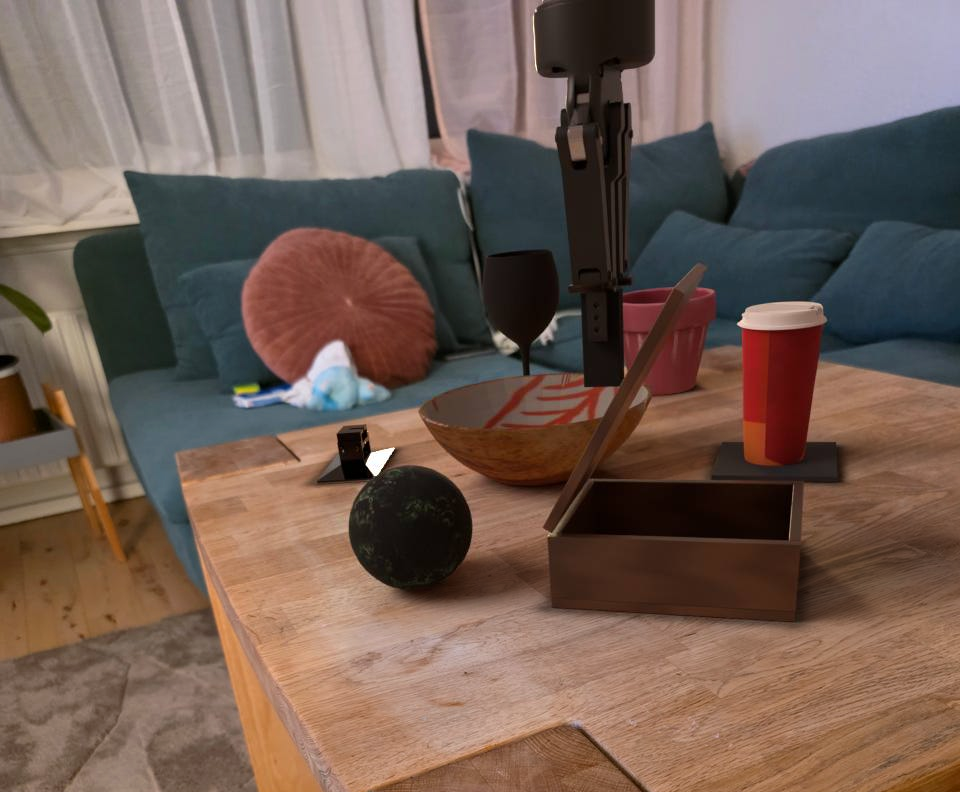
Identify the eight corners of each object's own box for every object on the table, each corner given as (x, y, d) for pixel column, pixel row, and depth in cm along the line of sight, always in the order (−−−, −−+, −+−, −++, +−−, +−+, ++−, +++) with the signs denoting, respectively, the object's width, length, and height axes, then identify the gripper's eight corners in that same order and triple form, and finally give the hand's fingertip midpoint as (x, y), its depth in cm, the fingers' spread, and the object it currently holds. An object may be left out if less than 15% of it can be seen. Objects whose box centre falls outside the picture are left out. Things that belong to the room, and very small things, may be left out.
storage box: (798, 548, 74) (804, 480, 71) (794, 622, 62) (800, 545, 60) (589, 541, 79) (587, 478, 77) (551, 607, 68) (547, 536, 65)
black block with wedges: (375, 481, 102) (369, 441, 100) (314, 485, 103) (306, 446, 100) (395, 449, 113) (389, 413, 110) (339, 453, 114) (332, 417, 111)
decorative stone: (355, 617, 70) (334, 495, 65) (361, 567, 79) (343, 457, 74) (482, 602, 70) (469, 480, 65) (474, 555, 79) (462, 444, 74)
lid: (708, 267, 66) (698, 262, 66) (684, 293, 55) (673, 287, 55) (591, 475, 76) (583, 470, 76) (551, 533, 65) (542, 528, 65)
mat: (835, 447, 97) (836, 441, 96) (837, 482, 87) (837, 476, 87) (722, 447, 101) (722, 441, 100) (711, 480, 91) (711, 475, 90)
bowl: (630, 512, 85) (629, 429, 81) (391, 506, 93) (379, 430, 89) (669, 438, 106) (669, 369, 102) (470, 439, 114) (464, 375, 110)
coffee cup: (825, 449, 94) (838, 299, 87) (801, 472, 88) (814, 314, 82) (747, 443, 99) (754, 300, 92) (720, 465, 93) (725, 314, 86)
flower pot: (670, 403, 120) (671, 303, 114) (593, 393, 130) (590, 300, 124) (733, 382, 128) (737, 287, 122) (656, 373, 138) (656, 285, 132)
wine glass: (477, 407, 129) (464, 258, 120) (529, 391, 135) (519, 248, 125) (527, 415, 122) (517, 257, 112) (579, 399, 127) (573, 247, 118)
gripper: (559, 17, 61) (575, 367, 72) (503, -8, 51) (531, 407, 62) (669, -1, 59) (668, 364, 70) (635, -32, 48) (640, 405, 59)
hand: (604, 384), depth 66 cm, fingers closed
